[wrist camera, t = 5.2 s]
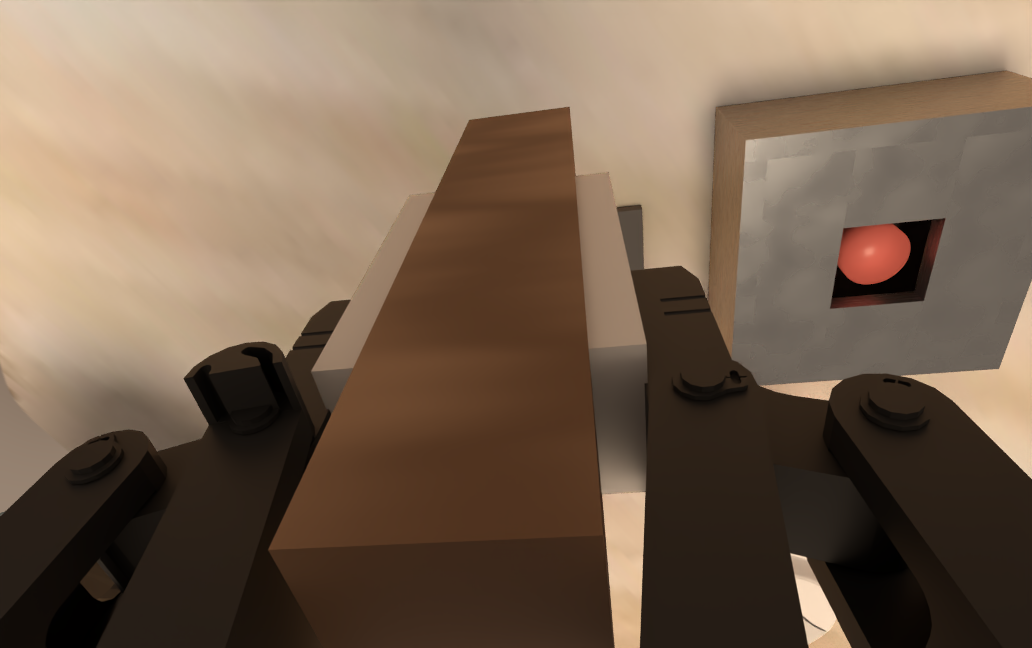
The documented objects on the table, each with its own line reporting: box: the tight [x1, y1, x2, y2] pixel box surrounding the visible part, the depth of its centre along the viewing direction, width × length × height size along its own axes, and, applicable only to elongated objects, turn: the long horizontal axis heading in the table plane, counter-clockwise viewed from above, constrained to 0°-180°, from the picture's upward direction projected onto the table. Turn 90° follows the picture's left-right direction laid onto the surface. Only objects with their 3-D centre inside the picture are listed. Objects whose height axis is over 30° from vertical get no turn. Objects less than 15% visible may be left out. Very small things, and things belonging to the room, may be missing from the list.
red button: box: [837, 223, 910, 284], centre depth 31 cm, size 3×3×2 cm
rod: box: [268, 107, 615, 648], centre depth 12 cm, size 3×3×15 cm
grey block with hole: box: [708, 71, 1032, 385], centre depth 32 cm, size 14×14×6 cm
